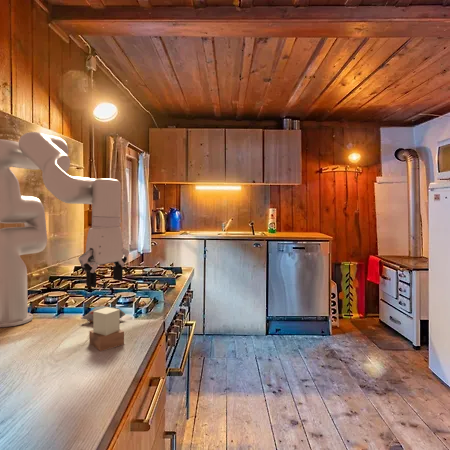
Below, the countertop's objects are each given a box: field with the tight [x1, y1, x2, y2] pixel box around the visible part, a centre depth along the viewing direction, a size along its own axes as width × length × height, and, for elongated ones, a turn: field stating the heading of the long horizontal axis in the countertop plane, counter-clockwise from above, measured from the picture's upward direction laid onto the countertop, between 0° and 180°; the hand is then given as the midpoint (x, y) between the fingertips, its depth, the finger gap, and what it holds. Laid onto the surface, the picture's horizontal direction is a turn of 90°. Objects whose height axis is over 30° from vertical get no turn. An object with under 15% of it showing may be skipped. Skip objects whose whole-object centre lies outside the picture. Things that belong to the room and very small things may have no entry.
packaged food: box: [80, 305, 126, 323], centre depth 117 cm, size 9×12×5 cm
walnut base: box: [88, 329, 125, 352], centre depth 98 cm, size 7×7×4 cm
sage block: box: [92, 306, 121, 336], centre depth 98 cm, size 5×5×6 cm
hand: (105, 283), depth 98 cm, fingers open, 9 cm apart
